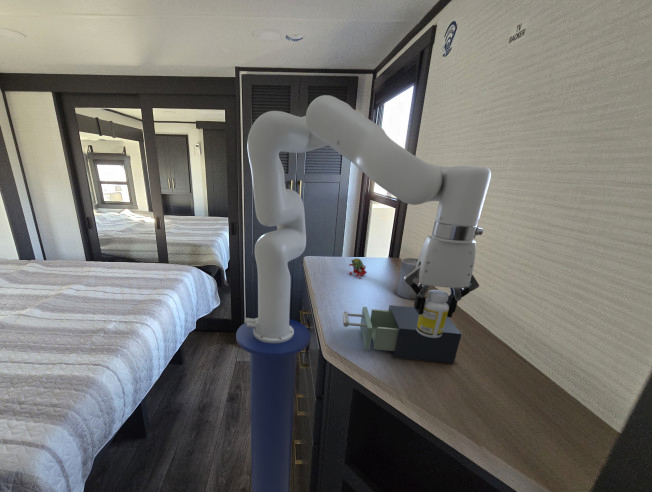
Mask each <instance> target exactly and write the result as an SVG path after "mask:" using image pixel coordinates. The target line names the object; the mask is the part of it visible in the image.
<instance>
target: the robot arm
mask: <svg viewBox="0 0 652 492" xmlns="http://www.w3.org/2000/svg"><path fill="white" fill-rule="evenodd" d="M246 143H247V145H246V146H247V147H246V149H247V156H248V161H249V165H250V167H249V168H250V170H251V171H250V172H251V180H252V193H253V200H254V201H253V202H254V209H255V216H256V219H257V221H258V223H260V224H261V225H262V226H264V227H269V228H270V227H276V228H277V229H276V230H272V231H269V232H266V233H264V234H263V235H261V236H260V237H259V238H258V239H257V240H256V242H255V245H254V258H255V262H256V269H257V317H255V318H252V317H251V318H250V317H244V323H245V324H247V327H253V328H254V329H253V335H254V337H255V338H256V339H258V340H260V341H262V342H265V343H282V342H286V341H288V340H290V339H291V338H292V337H293V335H294V330H293V328H292V327H291V326H290V325H289V319H290V313H291V312H290V311H291V287H292V286H291V285H292V284H291V283H292V281H291V280H292V279H291V273H290V270H289V262H291V261H293V260H295V259H297V258H299V257H300V256H302V255H303V253H304V252H305V250H306V247H307V231H306V229H307V228H306V213H305V205H304V202H303V200H302V197H301V196H300V194H299V193H298V192H297V191H296V190H294V189H291V188H286V187H287V186H286V179H285V177H286V176H285V175H286V174H285V170H284V165H283V163H282V160H281V158H280V153H289V154H302V153H307V152H311V151H315V150H318V149H321V148H325V147H330V148H331V149H332V150H333V151H335V152H337V153H338V154H339V155H341V156H342V157H344V159H347V161H349V162H351V163H352V164H353V165H354V166H355V167H357V169H358V170H360V171H361V172H362V173H363V174H364V175H366V176H367V177H368V178H369V179H370V180H371V181H372V182H374V183H375V184H376V185H378V186H379V187H381V188H382V189H383V190H385V191H386V192H388V193H389V194H391V196H393V197H395V198H396V199H397V200H399V201H401V202H403V203H405V204H408V205H412V206H417V205H422V204H425V203H429V202H438V206H437V210H436V214H435V219H434V223H433V228H432V233H431V235H427V236H426V237H425V239H424V241H423V245H422V247H421V250H420V252H419V254H418V255H419V256H418V258H417V259H418V262H417V265H416V268H415V269H414V270H412V271H411V272H410V273H409V274H407V275H406V276H405V277H404V280H405V282H406V283H407V284H408V285H409V286H410V287H411V288H412V289H413V290H414V292H415V293H416V298H415V299H414V303H413V307H414V308H415V309H416V311H417V313H418V314H420V315H421V314H422V313H423V309H424V305H425V301H426V299H427V298H426V297H425V295H426V294H427V293H428V291H429V290H430V287H437V288H438V287H439V288H449V293H450V294H449V296H448V300H447V302H446V303H447V304H448V305H449V311H448V314H447V317H448V318H452V317H453V313H455V312H456V309H457V306H458V302H460V301H462V298H465V296H467V295H468V294H470V292H473V291H475V290H477V289H478V288H479V287H480V284H479V282H478V281H477V279H476V277H475V276H474V274H473V272H474V268H475V260H476V253H477V252H476V251H477V241H476V240H475V239H476V236H482V235H483V233H484V229H483V228H482V227H479V225H478V224H479V220H480V218H481V213H482V211H483V207H484V202H485V199H486V196H487V193H488V189H489V185H490V181H491V178H492V172H491V169H490V168H488V167H486V166H478V165H477V166H476V165H455V166H443V165H438V164H433V163H428V162H426V161H424V160H422V159H421V158H419V157H418V156H415V155H414V154H413V153H411V152H410V151H408V150H407V149H405V148H404V147H402V146H401V145H399V144H398V143H397V142H395V141H394V140H393V139H391V138H390V137H389V135H388V134H387V133H386V131H385V130H384V129H383V127H381V126H380V125H379V124H377V123H376V122H374V121H372V120H371V119H370V118H368V117H366V116H365V115H363V114H361V113H360V112H358V111H356V110H355V109H354V108H353V107H352V106H351V105H350V104H349V103H347V102H345V101H343V100H341V99H339V98H337V97H336V96H333V95H328V94H324V95H319V96H318V97H316V98H314V99H313V100H312V101H311V102H310V104H309V105H308V107H307V109H306V112H305V115H304V116H298V115H294V114H292V113H288V112H285V111H280V110H269V111H266V112H264V113H262V114H261V115H259V116H258V117H257V118H256V119H255V120H254V122H253V123H252V125H251V127H250V129H249V132H248V136H247V142H246ZM414 278H417V279H419V282H420V283H419V285H418V286H417V284H416V283H415V282H414V281H413V279H414Z"/></svg>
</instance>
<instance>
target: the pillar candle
mask: <svg viewBox="0 0 652 492" xmlns="http://www.w3.org/2000/svg"><path fill="white" fill-rule="evenodd" d="M417 262H418V258H413V257H407V258H406V257H405V258H402V259H401V264H400V269H399V274H398V280H397V286H396V291H395V293H396V295H397V296H399V297H401V298H403V299H407V300H415V298H416V293H415V292H414V290H413V289H412V288H411V287H410V286H409V285H408V284H407V283H406V282H405V280H404V277H405V276H406V275H407V274H409V273H410V272H411V271H412V270H414V269H415V268H416V265H417ZM413 281H414V282H415V283H416V284H417V286H418V285H419V283H420V282H419V279H417V278H414V279H413Z"/></svg>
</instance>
